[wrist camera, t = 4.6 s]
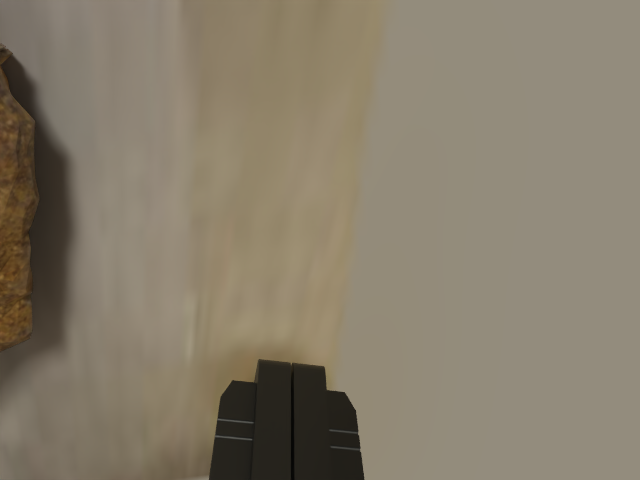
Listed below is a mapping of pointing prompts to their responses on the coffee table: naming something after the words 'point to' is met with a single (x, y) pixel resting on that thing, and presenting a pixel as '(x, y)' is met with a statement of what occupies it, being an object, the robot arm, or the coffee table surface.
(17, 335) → the decorative rock
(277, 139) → the coffee table surface
